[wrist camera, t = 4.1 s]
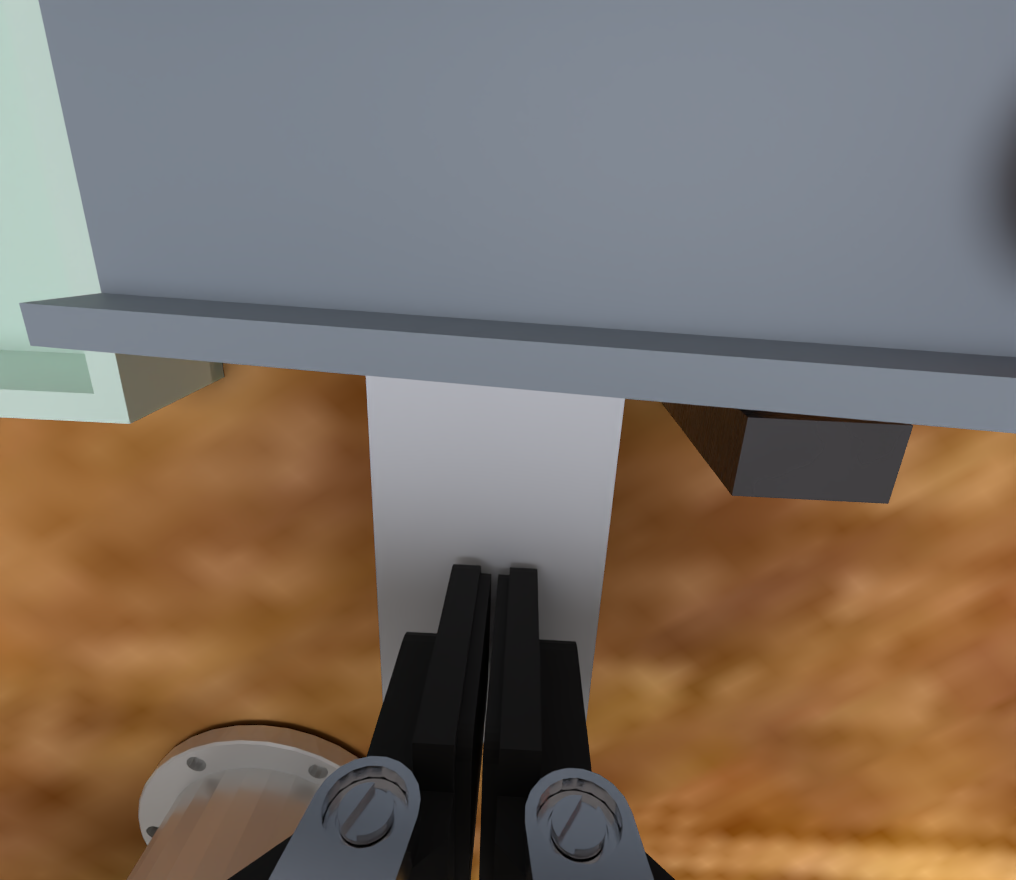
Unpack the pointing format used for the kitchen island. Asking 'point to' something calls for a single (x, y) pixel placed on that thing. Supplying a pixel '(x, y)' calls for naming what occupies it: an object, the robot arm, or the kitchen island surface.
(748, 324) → the lever
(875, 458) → the lever stand
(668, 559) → the kitchen island surface
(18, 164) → the bin
